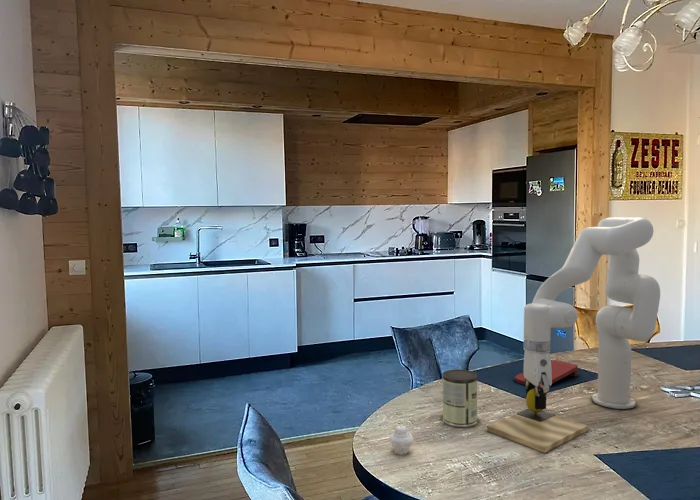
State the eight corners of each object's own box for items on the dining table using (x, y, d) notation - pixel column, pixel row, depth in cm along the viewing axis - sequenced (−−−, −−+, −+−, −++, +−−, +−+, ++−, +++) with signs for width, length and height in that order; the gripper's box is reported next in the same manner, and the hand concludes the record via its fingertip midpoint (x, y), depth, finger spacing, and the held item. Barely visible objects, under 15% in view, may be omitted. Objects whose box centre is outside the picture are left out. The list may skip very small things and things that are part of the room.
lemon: (546, 418, 156) (547, 391, 156) (527, 416, 157) (527, 390, 157) (543, 411, 162) (544, 385, 161) (524, 410, 163) (525, 384, 162)
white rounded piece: (396, 459, 135) (396, 432, 134) (385, 449, 140) (385, 423, 140) (417, 454, 137) (417, 427, 137) (405, 445, 143) (405, 419, 142)
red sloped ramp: (541, 399, 187) (582, 376, 200) (540, 386, 186) (582, 363, 199) (513, 390, 197) (554, 368, 210) (512, 377, 196) (553, 356, 209)
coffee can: (445, 412, 166) (445, 367, 165) (479, 416, 163) (479, 370, 162) (439, 424, 156) (439, 377, 155) (475, 429, 153) (475, 381, 152)
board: (531, 412, 165) (531, 407, 165) (587, 430, 151) (587, 424, 151) (487, 431, 152) (487, 425, 151) (544, 453, 138) (544, 446, 137)
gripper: (562, 352, 150) (561, 415, 151) (536, 338, 167) (535, 394, 168) (536, 353, 149) (535, 416, 150) (513, 339, 166) (512, 395, 168)
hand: (535, 404), depth 159 cm, fingers closed on lemon, 5 cm apart
